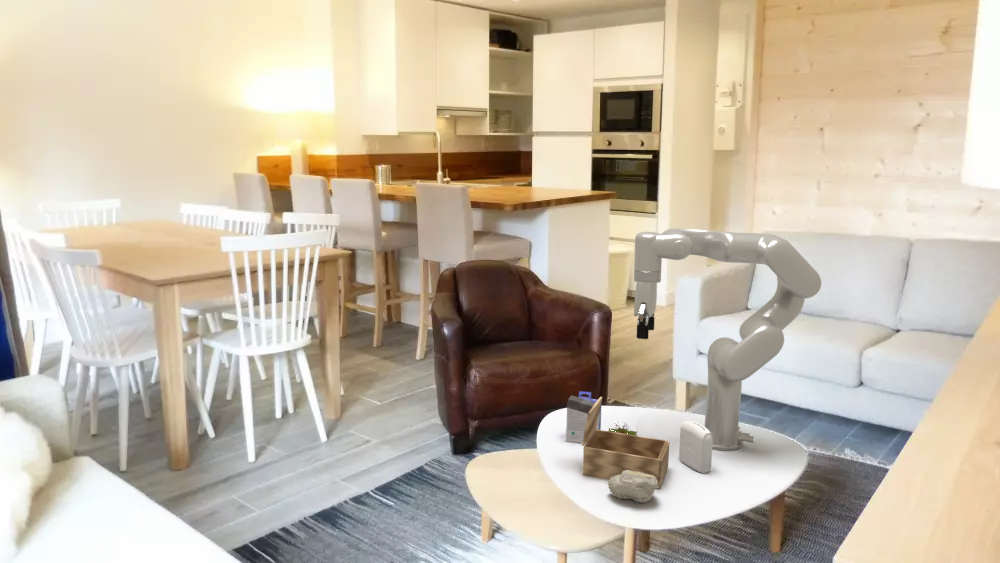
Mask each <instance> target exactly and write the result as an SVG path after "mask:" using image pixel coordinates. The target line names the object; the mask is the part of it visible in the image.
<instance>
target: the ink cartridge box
mask: <svg viewBox="0 0 1000 563" xmlns="http://www.w3.org/2000/svg"><path fill="white" fill-rule="evenodd" d="M583 395H587V396H583ZM577 397H578V398H582V399H585V400H588V401H592V402H595V403H596V402H597V400H598V399H599V398H598V399H597V398H592V392H591V391H582V390H581V391H580V390H579V391H578V396H577ZM587 417H588V414H587V413H583V412H580V411H577V410H573V409H570V408H567V407H566V427H565V428H566V429H565V430H566V431H565V432H566V433H565V435H566V436H565V441H566V442H570V443H572V442H573V443H581V444H582V442H583V437H584V432H585V427H586V422H587ZM601 427H602V405H601V406H600V411H599V416H598V421H597V426H596V429H597V430H602V428H601ZM596 429H595V430H596ZM593 433H594V432H593ZM591 436H592V435H591ZM589 439H590V438H589ZM589 439H588V440H589ZM587 442H588V441H587ZM587 442H586V443H587Z"/></svg>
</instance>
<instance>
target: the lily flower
mask: <svg viewBox="0 0 1000 563" xmlns="http://www.w3.org/2000/svg"><path fill="white" fill-rule="evenodd" d="M616 422H617V423H618V424H617V423H616ZM616 422H614V424H615V427H614V428H610V427H608V431H610V432H615V431H616V433H622V434H627V433H628V434H629V435H635V436H638V435H637V433H638V431H634V430H630V428H629V427H628V426H627V425H628V424H626V423H627V422H625V423H624V424H623V425H622V427H621V425H620V424H619V421H616ZM610 429H611V430H614V431H611V430H610Z"/></svg>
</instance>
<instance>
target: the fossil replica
mask: <svg viewBox="0 0 1000 563" xmlns="http://www.w3.org/2000/svg"><path fill="white" fill-rule="evenodd" d="M607 485H608V489H609V492H610V493H611V495H612V496H614V497H615V498H618V499H622V500H629V499H630V500H633V501H635V502H637V503H639V504H640V503H648V502H649V501H650V500H651V499H652V496H653V495H654V493H655V490H658V489H660V488H659V486H658V481H657V478H656V477H655V476H653V475H649V474H644V473H640V472H635V471H631V470H625V471H623V472H622V474H621V475H616V476H614V477H611V478H610V479H609V480H608V484H607ZM657 488H658V489H657Z"/></svg>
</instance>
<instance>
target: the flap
mask: <svg viewBox="0 0 1000 563" xmlns="http://www.w3.org/2000/svg"><path fill="white" fill-rule="evenodd" d="M578 397H579V396H574V395H570V397H569V398H568V400H567V403H566V409H567V408H570V409H573V410H577V411H580V412H583V413H587V414H588V417H587V422H586V427H585V432H584V437H583V442H582V443H581V446H582V447H584V446H585V445H586V442H587V441H588V439H589V438H590V437H591V435H592V434H593V432H594V431H595V429H596V426H597V421H598V416H599V411H600V406H601V407H602V401H603V396H600V397H599V398H598V400H597V402H596V403H595V402H592V401H588V400H585V399H582V398H578Z"/></svg>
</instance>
